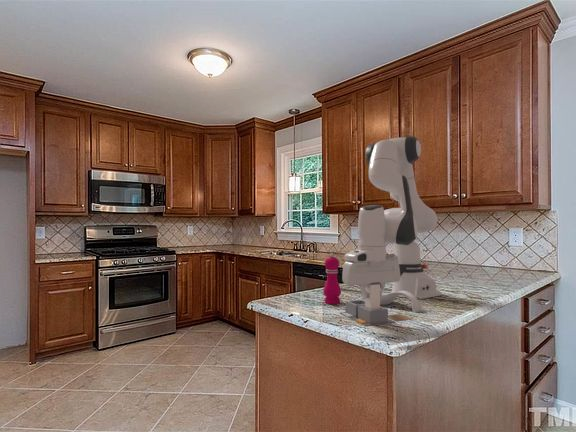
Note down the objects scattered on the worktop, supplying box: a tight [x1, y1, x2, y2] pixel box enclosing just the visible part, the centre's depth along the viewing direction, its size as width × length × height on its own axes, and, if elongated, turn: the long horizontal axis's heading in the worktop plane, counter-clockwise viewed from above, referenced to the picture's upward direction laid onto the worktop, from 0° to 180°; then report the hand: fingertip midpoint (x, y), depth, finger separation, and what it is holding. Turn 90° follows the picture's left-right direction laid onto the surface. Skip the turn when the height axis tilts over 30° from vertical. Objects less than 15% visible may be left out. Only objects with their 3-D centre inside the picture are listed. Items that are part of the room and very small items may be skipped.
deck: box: [388, 313, 413, 322], centre depth 118 cm, size 7×7×1 cm
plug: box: [364, 282, 381, 310], centre depth 114 cm, size 3×3×9 cm
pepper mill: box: [322, 252, 342, 305], centre depth 144 cm, size 7×7×20 cm
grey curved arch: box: [363, 291, 423, 313], centre depth 135 cm, size 24×12×7 cm, turn 37°
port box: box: [339, 299, 396, 327], centre depth 118 cm, size 11×16×5 cm
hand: (372, 297), depth 114 cm, fingers closed on plug, 3 cm apart
